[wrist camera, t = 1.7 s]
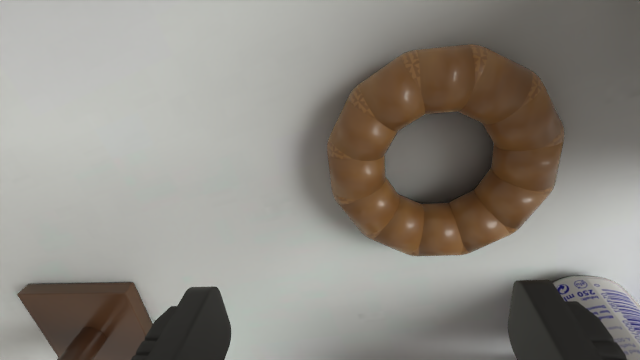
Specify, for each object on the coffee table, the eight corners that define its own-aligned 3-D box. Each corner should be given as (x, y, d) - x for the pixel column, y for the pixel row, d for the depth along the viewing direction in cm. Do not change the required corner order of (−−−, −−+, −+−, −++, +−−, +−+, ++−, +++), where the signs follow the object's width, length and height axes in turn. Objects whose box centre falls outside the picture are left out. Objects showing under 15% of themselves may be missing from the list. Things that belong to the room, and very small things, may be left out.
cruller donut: (320, 55, 16) (313, 66, 14) (563, 29, 15) (600, 37, 13) (340, 237, 21) (337, 268, 19) (528, 231, 19) (550, 264, 17)
